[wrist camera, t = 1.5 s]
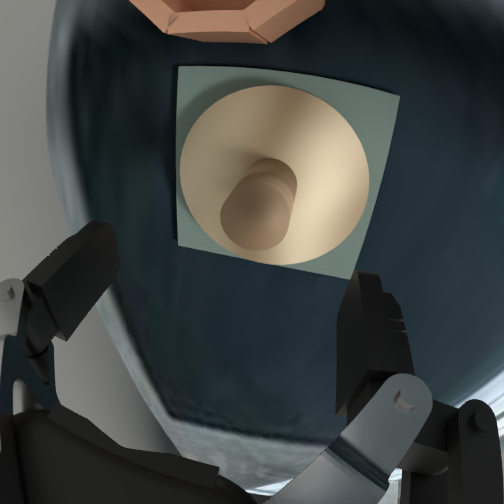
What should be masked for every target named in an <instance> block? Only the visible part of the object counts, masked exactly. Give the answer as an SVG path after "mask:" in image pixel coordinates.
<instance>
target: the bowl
mask: <svg viewBox="0 0 504 504" xmlns="http://www.w3.org/2000/svg"><path fill="white" fill-rule="evenodd" d="M129 1H130V2H131V3H133V4H134V5H135V6H136V7H137V8H138V9H139V10H140V11H141V12H142V13H143V14H145V15H146V16H147V17H148V18H149V19H150V20H151V21H152V22H153V23H154V24H155V25H156V26H157V27H158V28H159V29H160V30H161V31H162V32H163V33H167V34H170V35H175V36H180V37H185V38H189V39H194V40H198V41H202V42H239V43H257V44H267V41H269V42H270V43H272V42H273V41H275V40H276V39H278V38H279V37H280V36H282V35H283V34H285V33H286V32H288V31H289V30H291V29H292V28H294V27H295V26H297V25H298V24H300V23H301V22H303V21H304V20H306V19H307V18H309V17H311V16H312V15H314V14H315V13H317V12H319V11H320V10H322V9H323V6H325V0H129Z"/></svg>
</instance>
